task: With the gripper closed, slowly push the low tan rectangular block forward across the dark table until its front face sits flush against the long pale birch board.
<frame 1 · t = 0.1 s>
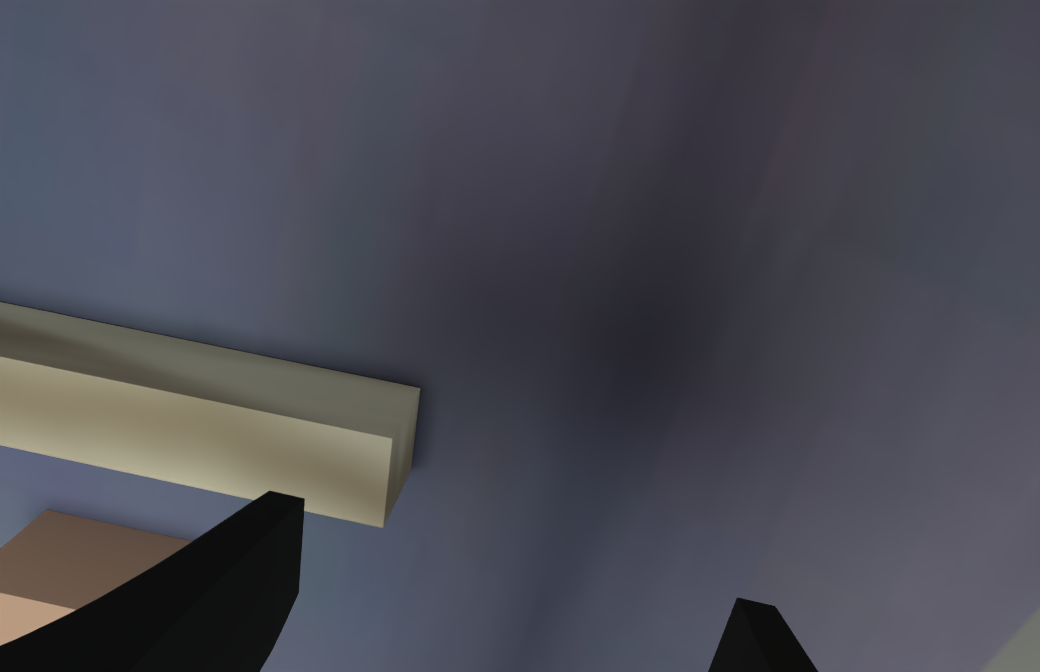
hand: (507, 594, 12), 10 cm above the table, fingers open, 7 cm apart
birch board: (112, 366, 23), on the table
tan rectangular block: (135, 596, 28), on the table
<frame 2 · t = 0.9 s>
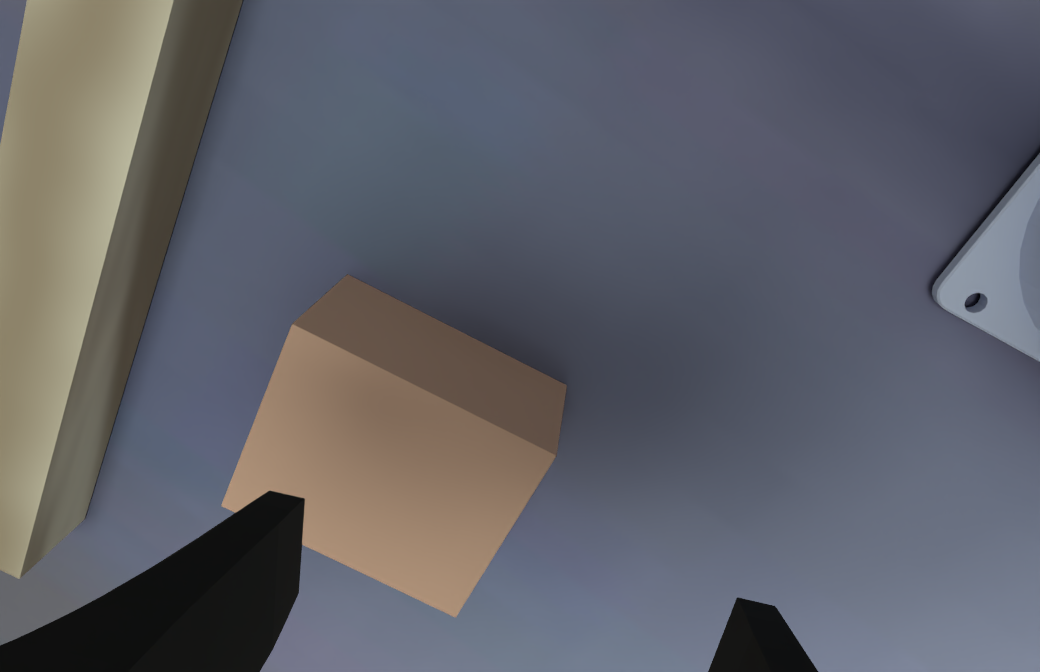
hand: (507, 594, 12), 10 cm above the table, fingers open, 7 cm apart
birch board: (110, 255, 21), on the table
tan rectangular block: (419, 407, 22), on the table
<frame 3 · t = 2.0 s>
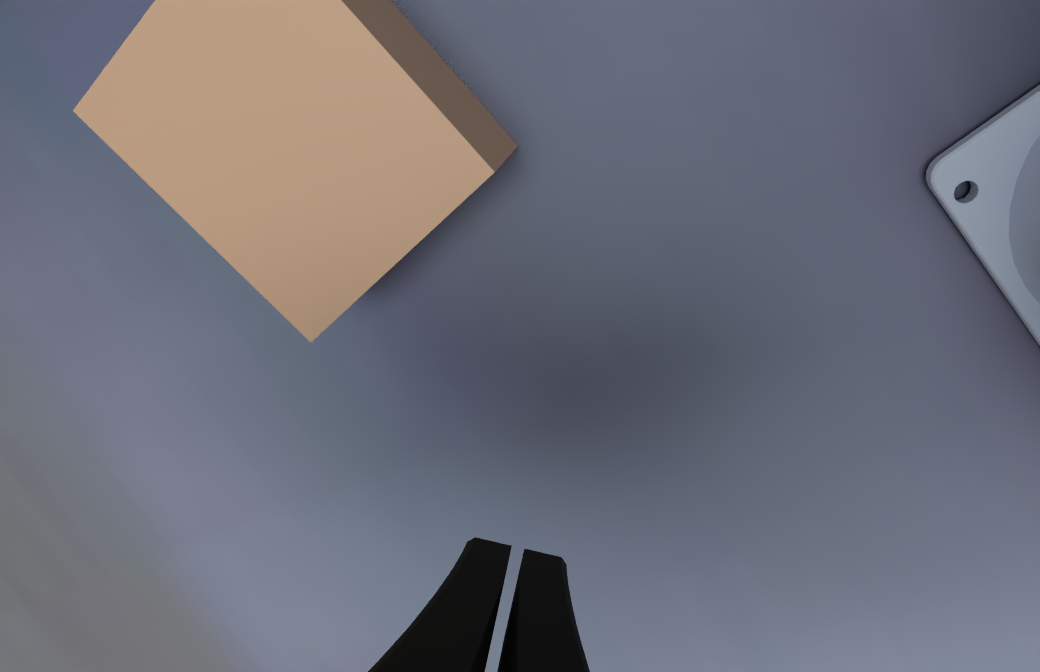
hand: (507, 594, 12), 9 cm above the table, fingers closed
tan rectangular block: (345, 119, 19), on the table
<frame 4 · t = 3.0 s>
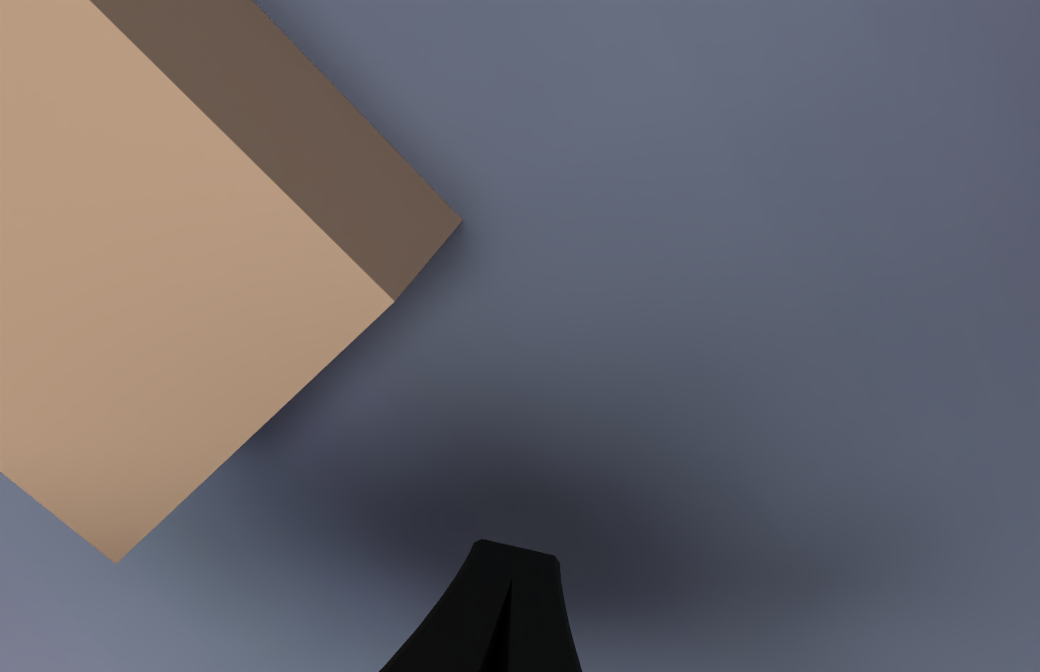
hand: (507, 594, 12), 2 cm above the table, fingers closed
tan rectangular block: (195, 182, 12), on the table
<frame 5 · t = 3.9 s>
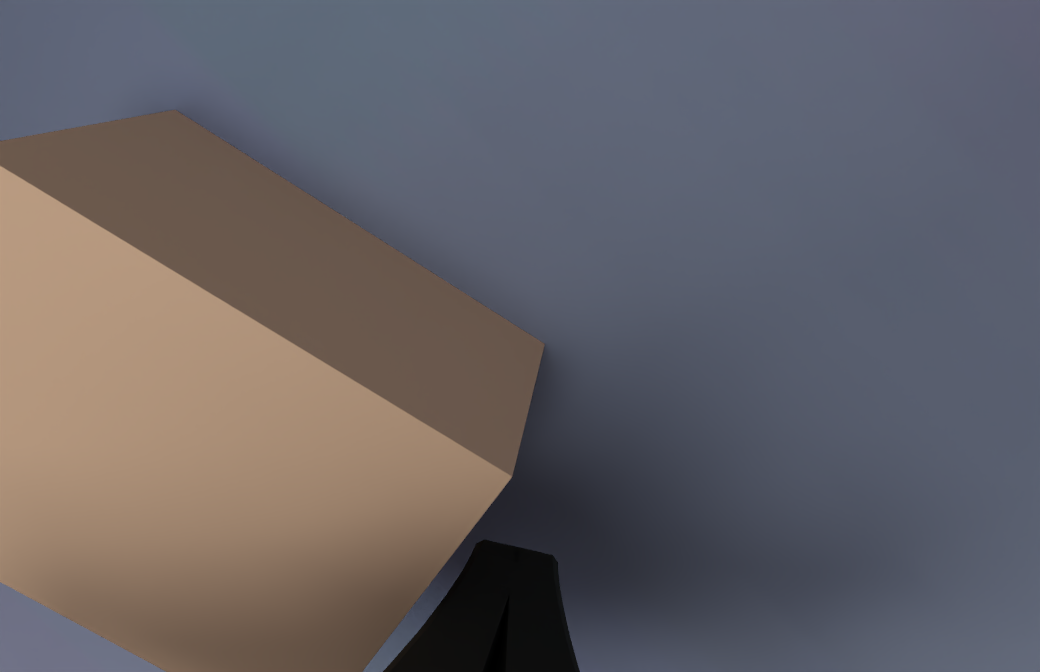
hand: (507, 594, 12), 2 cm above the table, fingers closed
tan rectangular block: (292, 365, 13), on the table, touching gripper
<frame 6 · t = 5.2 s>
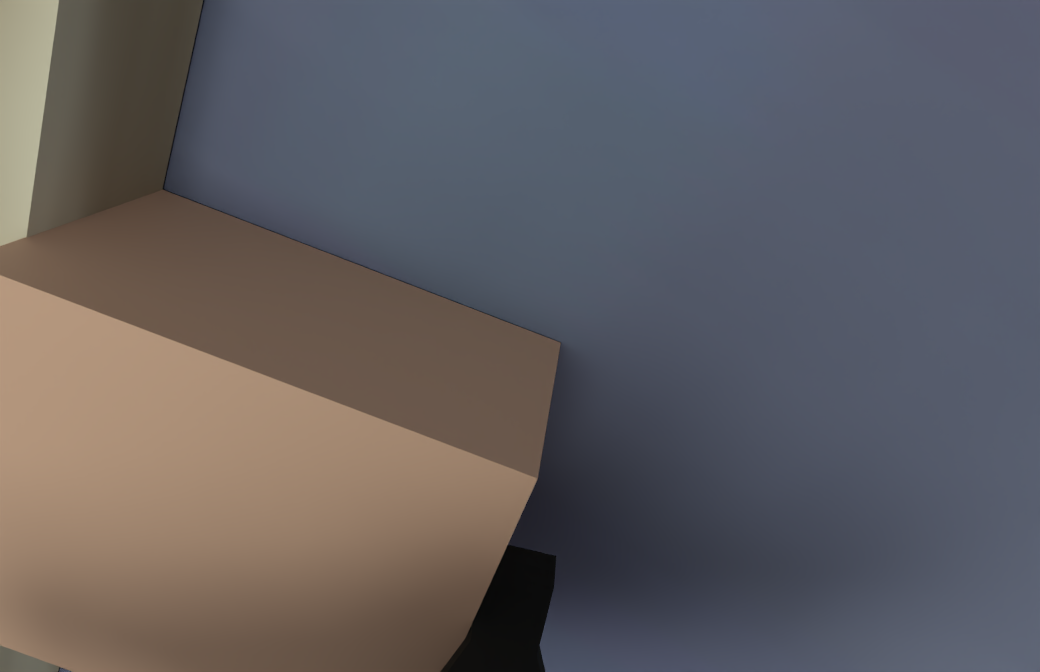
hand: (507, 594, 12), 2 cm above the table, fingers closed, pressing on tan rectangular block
birch board: (48, 322, 13), on the table
tan rectangular block: (321, 413, 13), on the table, touching birch board, gripper
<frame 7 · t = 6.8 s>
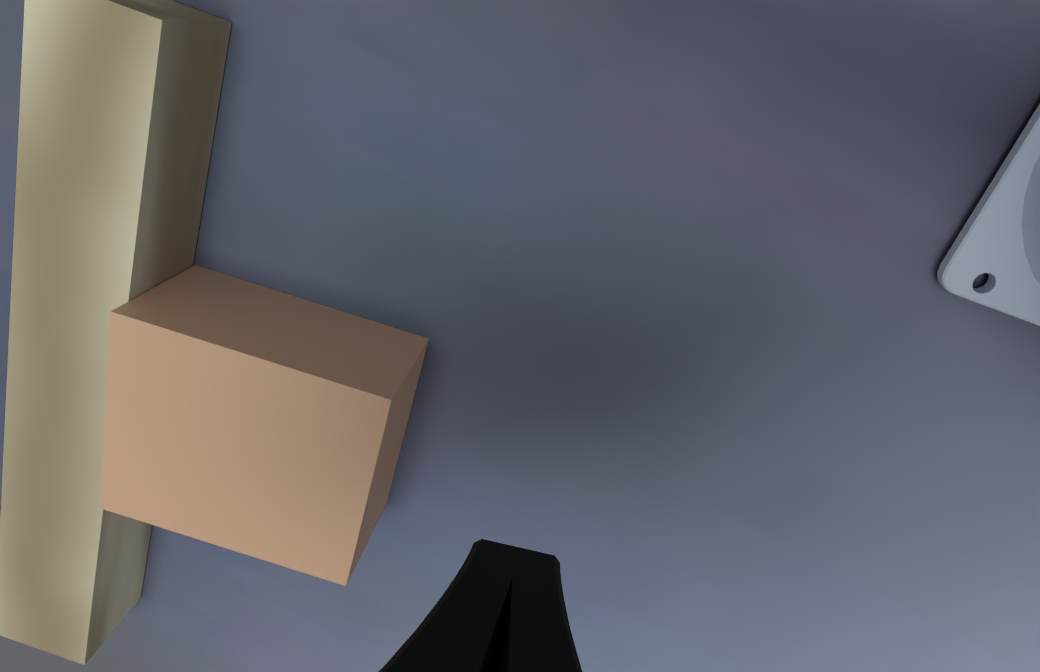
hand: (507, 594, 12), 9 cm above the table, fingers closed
birch board: (130, 345, 22), on the table
tan rectangular block: (298, 387, 22), on the table
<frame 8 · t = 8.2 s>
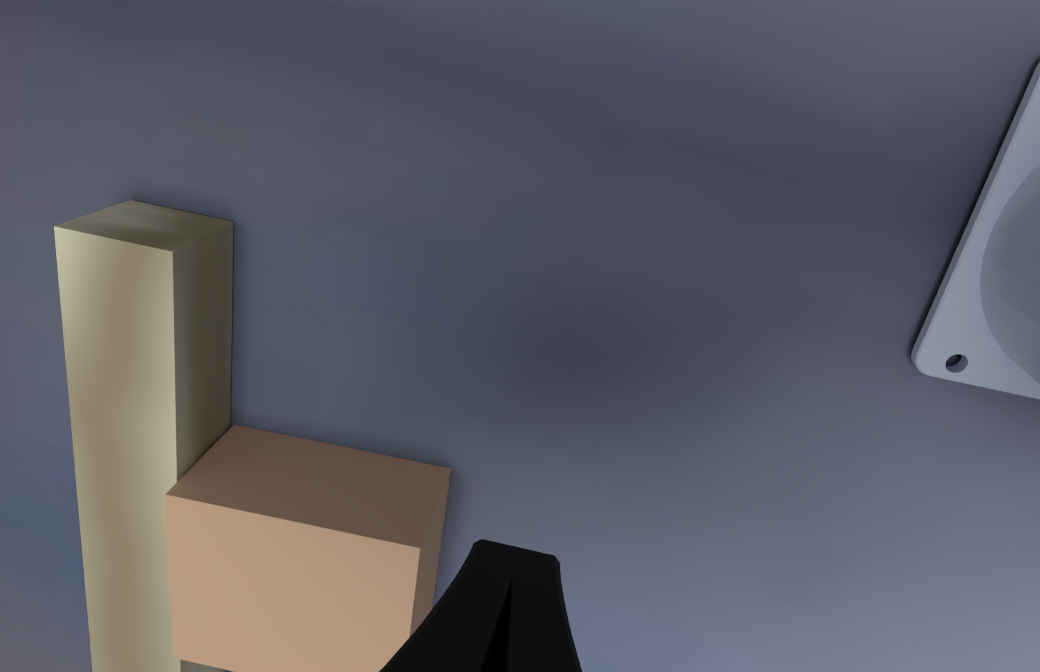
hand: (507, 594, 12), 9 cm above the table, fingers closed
birch board: (185, 501, 24), on the table
tan rectangular block: (339, 519, 24), on the table
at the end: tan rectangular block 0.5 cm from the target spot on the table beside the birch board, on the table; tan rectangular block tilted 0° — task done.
